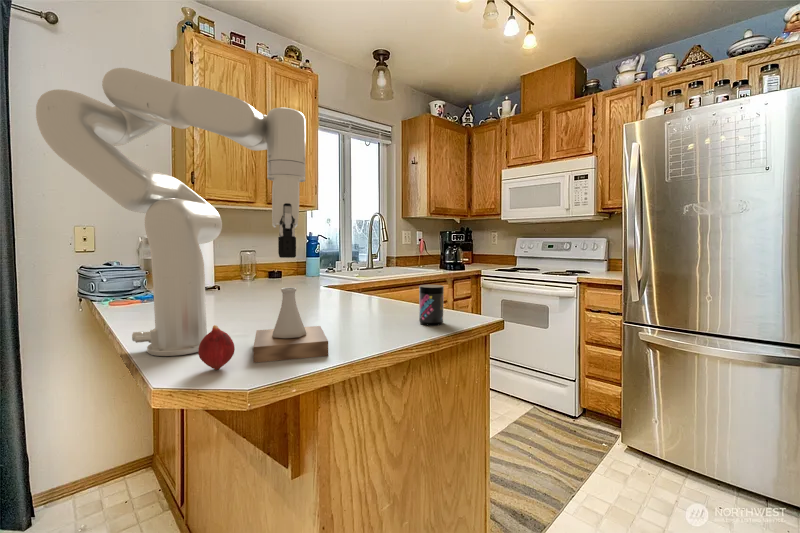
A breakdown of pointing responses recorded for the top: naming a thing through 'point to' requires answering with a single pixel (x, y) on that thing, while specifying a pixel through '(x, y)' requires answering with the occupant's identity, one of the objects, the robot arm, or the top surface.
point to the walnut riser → (289, 345)
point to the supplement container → (431, 304)
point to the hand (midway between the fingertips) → (286, 256)
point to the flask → (289, 317)
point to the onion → (216, 348)
